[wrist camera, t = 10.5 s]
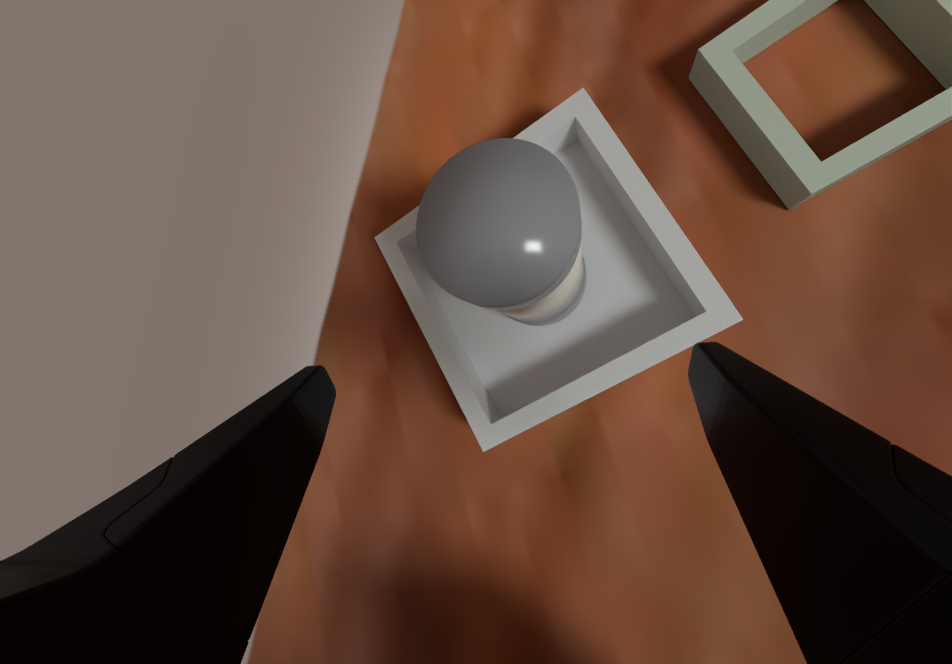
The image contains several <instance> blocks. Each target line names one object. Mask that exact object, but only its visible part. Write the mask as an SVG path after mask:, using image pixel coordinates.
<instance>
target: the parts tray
mask: <svg viewBox="0 0 952 664" xmlns="http://www.w3.org/2000/svg"><path fill="white" fill-rule="evenodd" d="M514 139H522V140H525V141H529V142H532V143H534V144H537V145H539V146H541V147H543V148H545V149H546V150H548V151H549V152H551V153H552V154H553V155H554V156H556V157H557V158H558V159H559V160H560V161H561V163H562V164H563V165H564V166H565V167H566V169H567V170H568V172H569V173H570V175H571V177H572V179H573V181H574V183H575V186H576V189H577V192H578V196H579V202H580V211H581V222H582V237H581V251H582V255H583V258H584V262H585V267H586V288H585V291H584V295H583V297H582V299H581V301H580V303H579V304H578V306H577V307H576V308H575V310H574V311H573V312H572V313H571V314H570V315H568V316H567V317H566V318H564V319H562V320H561V321H559V322H556V323H554V324H551V325H546V326H530V325H526V324H523V323H520V322H517V321H515V320H513V319H511V318H509V317H508V316H506V315H505V314H503V313H501V312H499V311H496V310H490V309H486V308H482V307H479V306H476V305H474V304H471V303H468V302H466V301H463V300H461V299H459V298H456V297H455V296H453V295H451V294H450V293H448V292H447V291H445V290H444V289H443V288H442V287H440V286H439V285H438V284H437V283H436V281H435V280H434V279H433V278H432V277H431V275H430V274H429V272H428V271H427V269H426V267H425V265H424V264H423V261H422V259H421V256H420V253H419V249H418V245H417V237H416V221H417V214H418V210H419V206H420V205H419V206H418V207H416V208H415V209H413V210H412V211H411V212H409V213H408V214H406V215H405V216H404V217H402V218H401V219H400V220H398V221H397V222H395V223H394V224H393V225H391V226H390V227H388V228H387V229H386V230H384V231H383V232H381V233H380V234H379V235H377V236H376V237H374V238H375V240H376V242H377V244H378V246H379V248H380V250H381V252H382V254H383V256H384V258H385V260H386V261H387V263H388V265H389V267H390V269H391V271H392V273H393V275H394V277H395V279H396V281H397V283H398V285H399V287H400V289H401V291H402V293H403V295H404V297H405V299H406V301H407V303H408V305H409V307H410V309H411V311H412V313H413V315H414V316H415V318H416V320H417V322H418V324H419V326H420V328H421V330H422V332H423V334H424V336H425V338H426V340H427V342H428V344H429V346H430V348H431V350H432V352H433V354H434V356H435V358H436V360H437V362H438V364H439V366H440V368H441V370H442V371H443V373H444V375H445V377H446V379H447V381H448V383H449V385H450V387H451V389H452V391H453V393H454V395H455V397H456V399H457V401H458V403H459V405H460V407H461V409H462V411H463V413H464V415H465V417H466V419H467V421H468V423H469V425H470V426H471V428H472V430H473V432H474V434H475V436H476V438H477V440H478V442H479V444H480V446H481V448H482V450H483V452H484V451H486V450H488V449H490V448H492V447H494V446H496V445H498V444H500V443H502V442H504V441H506V440H508V439H509V438H511V437H513V436H515V435H517V434H519V433H521V432H523V431H525V430H527V429H529V428H531V427H533V426H535V425H537V424H539V423H541V422H543V421H545V420H547V419H549V418H551V417H553V416H555V415H557V414H559V413H561V412H563V411H565V410H567V409H568V408H570V407H572V406H574V405H576V404H578V403H580V402H582V401H584V400H586V399H588V398H590V397H592V396H594V395H596V394H598V393H600V392H602V391H604V390H606V389H608V388H610V387H612V386H614V385H616V384H618V383H620V382H622V381H624V380H626V379H628V378H629V377H631V376H633V375H635V374H637V373H639V372H641V371H643V370H645V369H647V368H649V367H651V366H653V365H655V364H657V363H659V362H661V361H663V360H665V359H667V358H669V357H671V356H673V355H675V354H677V353H679V352H681V351H683V350H685V349H687V348H689V347H690V346H692V345H694V344H696V343H698V342H700V341H702V340H704V339H706V338H708V337H710V336H712V335H714V334H716V333H718V332H720V331H722V330H724V329H726V328H728V327H730V326H732V325H734V324H736V323H738V322H740V321H742V320H743V318H742V317H741V315H740V314H739V313H738V311H737V310H736V308H735V307H734V305H733V304H732V302H731V301H730V299H729V298H728V297H727V295H726V294H725V292H724V291H723V289H722V288H721V286H720V285H719V284H718V282H717V281H716V279H715V278H714V276H713V275H712V273H711V272H710V271H709V269H708V268H707V266H706V265H705V263H704V262H703V260H702V259H701V257H700V256H699V255H698V253H697V252H696V250H695V249H694V247H693V246H692V244H691V243H690V242H689V240H688V239H687V237H686V236H685V234H684V233H683V231H682V230H681V229H680V227H679V226H678V224H677V223H676V221H675V220H674V218H673V217H672V215H671V214H670V213H669V211H668V210H667V208H666V207H665V205H664V204H663V202H662V201H661V200H660V198H659V197H658V195H657V194H656V192H655V191H654V189H653V188H652V187H651V185H650V184H649V182H648V181H647V179H646V178H645V176H644V175H643V174H642V172H641V171H640V169H639V168H638V166H637V165H636V163H635V162H634V160H633V159H632V158H631V156H630V155H629V153H628V152H627V150H626V149H625V147H624V146H623V145H622V143H621V142H620V140H619V139H618V137H617V136H616V134H615V133H614V132H613V130H612V129H611V127H610V126H609V124H608V123H607V121H606V120H605V118H604V117H603V116H602V114H601V113H600V111H599V110H598V108H597V107H596V105H595V104H594V103H593V101H592V100H591V98H590V97H589V95H588V94H587V92H586V91H585V90H584V88H582V89H581V90H579V91H578V92H577V93H575V94H574V95H572V96H571V97H570V98H568V99H567V100H565V101H564V102H563V103H561V104H560V105H558V106H557V107H556V108H554V109H553V110H551V111H550V112H549V113H547V114H546V115H544V116H543V117H542V118H540V119H539V120H537V121H536V122H535V123H533V124H532V125H531V126H529V127H528V128H526V129H525V130H524V131H522V132H521V133H519V134H518V135H517V136H515V137H514Z"/></svg>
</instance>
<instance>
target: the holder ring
mask: <svg viewBox="0 0 952 664" xmlns="http://www.w3.org/2000/svg"><path fill="white" fill-rule="evenodd" d="M837 1H838V0H769V1H767V2H766V3H765V4H763V5H762V6H760V7H759V8H757V9H756V10H754V11H753V12H752V13H750V14H749V15H747V16H746V17H744V18H743V19H741V20H740V21H739V22H737V23H736V24H734V25H733V26H731V27H730V28H728V29H727V30H725V31H724V32H723V33H721V34H720V35H718V36H717V37H715V38H714V39H712V40H711V41H710V42H708V43H707V44H705V45H704V46H702V47H701V48H699V49H698V51H697V54H696V57H695V60H694V63H693V66H692V69H691V71H690V74H689V77H688V79H689V80H690V81H691V82H692V84H693V85H694V86H695V88H696V89H697V90H698V92H699V93H700V94H701V96H702V97H703V98H704V100H705V101H706V102H707V103H708V105H709V106H710V107H711V109H712V110H713V111H714V113H715V114H716V115H717V117H718V118H719V119H720V121H721V122H722V123H723V124H724V126H725V127H726V128H727V130H728V131H729V132H730V134H731V135H732V136H733V138H734V139H735V140H736V142H737V143H738V144H739V145H740V147H741V148H742V149H743V151H744V152H745V153H746V155H747V156H748V157H749V159H750V160H751V161H752V163H753V164H754V165H755V166H756V168H757V169H758V170H759V172H760V173H761V174H762V176H763V177H764V178H765V180H766V181H767V182H768V184H769V185H770V186H771V187H772V189H773V190H774V191H775V193H776V194H777V195H778V197H779V198H780V199H781V201H782V202H783V203H784V205H785V206H786V207H787V208H788V210H791V209H792V208H794V207H796V206H798V205H800V204H801V203H803V202H805V201H807V200H809V199H810V198H812V197H814V196H816V195H817V194H819V193H821V192H823V191H825V190H826V189H828V188H830V187H832V186H834V185H835V184H837V183H839V182H841V181H843V180H844V179H846V178H848V177H850V176H851V175H853V174H855V173H857V172H859V171H860V170H862V169H864V168H866V167H868V166H869V165H871V164H873V163H875V162H877V161H878V160H880V159H882V158H884V157H885V156H887V155H889V154H891V153H893V152H894V151H896V150H898V149H900V148H902V147H903V146H905V145H907V144H909V143H911V142H912V141H914V140H916V139H918V138H919V137H921V136H923V135H925V134H927V133H928V132H930V131H932V130H934V129H936V128H937V127H939V126H941V125H943V124H945V123H946V122H948V121H950V120H952V0H864V1H865V2H866V3H867V4H868V5H869V6H870V8H871V9H872V10H873V11H874V12H875V13H876V14H877V15H878V16H879V17H880V18H881V19H882V21H883V22H884V23H885V24H886V25H887V26H888V27H889V28H890V29H891V30H892V31H893V33H894V34H895V35H896V36H897V37H898V38H899V39H900V40H901V41H902V42H903V43H904V44H905V46H906V47H907V48H908V49H909V50H910V51H911V52H912V53H913V54H914V55H915V56H916V58H917V59H918V60H919V61H920V62H921V63H922V64H923V65H924V66H925V67H926V68H927V69H928V71H929V72H930V73H931V74H932V75H933V76H934V77H935V78H936V79H937V80H938V81H939V83H940V84H941V85H942V86H943V87H944V88H945V89H946V90H945V91H943V92H942V93H940V94H938V95H936V96H935V97H933V98H931V99H930V100H928V101H926V102H924V103H923V104H921V105H919V106H917V107H916V108H914V109H912V110H910V111H909V112H907V113H905V114H903V115H902V116H900V117H898V118H897V119H895V120H893V121H891V122H890V123H888V124H886V125H884V126H883V127H881V128H879V129H877V130H876V131H874V132H872V133H871V134H869V135H867V136H865V137H864V138H862V139H860V140H858V141H857V142H855V143H853V144H851V145H850V146H848V147H846V148H844V149H843V150H841V151H839V152H838V153H836V154H834V155H832V156H831V157H829V158H827V159H825V160H824V161H822V162H821V161H820V160H819V158H818V157H817V156H816V155H815V153H814V152H813V151H812V150H811V148H810V147H809V146H808V145H807V144H806V142H805V141H804V140H803V139H802V137H801V136H800V135H799V134H798V132H797V131H796V130H795V129H794V127H793V126H792V125H791V124H790V122H789V121H788V120H787V119H786V117H785V116H784V115H783V114H782V112H781V111H780V110H779V109H778V107H777V106H776V105H775V104H774V102H773V101H772V100H771V99H770V97H769V96H768V95H767V94H766V93H765V91H764V90H763V89H762V88H761V86H760V85H759V84H758V83H757V81H756V80H755V79H754V78H753V76H752V75H751V74H750V73H749V71H748V70H747V69H746V68H745V66H744V65H743V63H745V62H746V61H748V60H749V59H751V58H752V57H754V56H755V55H757V54H758V53H760V52H761V51H763V50H764V49H766V48H767V47H769V46H770V45H772V44H773V43H775V42H776V41H778V40H779V39H781V38H782V37H784V36H785V35H787V34H788V33H790V32H791V31H793V30H794V29H796V28H797V27H799V26H800V25H802V24H803V23H805V22H806V21H808V20H809V19H811V18H813V17H814V16H816V15H817V14H819V13H820V12H822V11H823V10H825V9H826V8H828V7H829V6H831V5H832V4H834V3H835V2H837Z"/></svg>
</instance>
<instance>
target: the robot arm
mask: <svg viewBox="0 0 952 664" xmlns="http://www.w3.org/2000/svg"><path fill="white" fill-rule="evenodd" d="M688 378H689V382H690V386H691V389H692V392H693V396H694V399H695V402H696V405H697V409H698V412H699V415H700V418H701V422H702V425H703V428H704V431H705V434H706V437H707V440H708V443H709V445H710V448H711V450H712V452H713V454H714V457H715V459H716V461H717V463H718V466H719V468H720V470H721V472H722V475H723V477H724V479H725V481H726V483H727V486H728V488H729V490H730V492H731V495H732V497H733V499H734V501H735V504H736V506H737V508H738V510H739V513H740V515H741V517H742V519H743V521H744V524H745V526H746V528H747V530H748V533H749V535H750V537H751V539H752V542H753V544H754V546H755V548H756V550H757V553H758V555H759V557H760V559H761V562H762V564H763V566H764V568H765V571H766V573H767V575H768V577H769V580H770V582H771V584H772V586H773V588H774V591H775V593H776V595H777V597H778V600H779V602H780V604H781V606H782V609H783V611H784V613H785V615H786V617H787V620H788V622H789V624H790V626H791V629H792V631H793V633H794V635H795V638H796V640H797V642H798V644H799V647H800V649H801V651H802V653H803V655H804V658H805V660H806V662H807V664H952V476H950V475H949V474H947V473H945V472H943V471H941V470H940V469H938V468H936V467H934V466H932V465H931V464H929V463H927V462H925V461H923V460H922V459H920V458H918V457H916V456H915V455H913V454H911V453H909V452H908V451H906V450H904V449H902V448H901V447H899V446H897V445H891V442H890V441H888V440H886V439H885V438H883V437H881V436H880V435H878V434H876V433H874V432H873V431H871V430H869V429H867V428H866V427H864V426H862V425H860V424H859V423H857V422H855V421H853V420H852V419H850V418H848V417H847V416H845V415H843V414H841V413H840V412H838V411H836V410H834V409H833V408H831V407H829V406H827V405H826V404H824V403H822V402H820V401H819V400H817V399H815V398H813V397H812V396H810V395H808V394H807V393H805V392H803V391H801V390H800V389H798V388H796V387H794V386H793V385H791V384H789V383H787V382H786V381H784V380H782V379H780V378H779V377H777V376H775V375H774V374H772V373H770V372H768V371H767V370H765V369H763V368H761V367H760V366H758V365H756V364H754V363H753V362H751V361H749V360H747V359H746V358H744V357H742V356H740V355H739V354H737V353H735V352H734V351H732V350H730V349H728V348H727V347H725V346H723V345H721V344H720V343H718V342H698V343H696V344H695V345H694V347H693V350H692V355H691V360H690V364H689V369H688ZM335 397H336V390H335V387H334V385H333V383H332V381H331V379H330V377H329V375H328V373H327V371H326V369H325V368H324V367H323V366H321V365H317V366H307V367H305V368H303V369H302V370H301V371H299V372H297V373H296V374H294V375H293V376H292V377H290V378H288V379H287V380H286V381H284V382H283V383H281V384H280V385H278V386H277V387H275V388H274V389H272V390H271V391H269V392H268V393H266V394H265V395H264V396H262V397H260V398H259V399H257V400H256V401H254V402H253V403H251V404H250V405H248V406H247V407H245V408H244V409H243V410H241V411H239V412H238V413H237V414H235V415H234V416H232V417H231V418H229V419H228V420H226V421H225V422H223V423H222V424H220V425H219V426H217V427H216V428H214V429H213V430H211V431H210V432H208V433H207V434H205V435H204V436H202V437H201V438H199V439H198V440H196V441H195V442H193V443H192V444H191V445H189V446H188V447H186V448H185V449H183V450H182V451H180V452H179V453H177V454H176V455H175V456H174V458H173V457H172V458H170V459H168V460H167V461H165V462H164V463H162V464H161V465H159V466H158V467H156V468H155V469H153V470H152V471H150V472H149V473H147V474H146V475H144V476H143V477H141V478H140V479H138V480H137V481H135V482H133V483H132V484H131V485H129V486H128V487H126V488H124V489H123V490H121V491H119V492H118V493H116V494H114V495H113V496H111V497H110V498H108V499H107V500H105V501H103V502H101V503H100V504H98V505H97V506H95V507H93V508H92V509H90V510H89V511H87V512H85V513H84V514H82V515H80V516H79V517H77V518H75V519H74V520H72V521H70V522H69V523H67V524H66V525H64V526H62V527H61V528H59V529H57V530H56V531H54V532H52V533H51V534H49V535H47V536H46V537H44V538H43V539H41V540H39V541H38V542H36V543H34V544H33V545H31V546H29V547H27V548H26V549H24V550H23V551H20V552H19V553H17V554H15V555H12V556H10V557H8V558H6V559H4V560H2V561H0V664H241V661H242V658H243V656H244V653H245V650H246V648H247V645H248V640H249V639H250V637H251V634H252V631H253V629H254V626H255V623H256V621H257V618H258V616H259V613H260V610H261V608H262V605H263V602H264V600H265V597H266V594H267V592H268V589H269V587H270V584H271V581H272V579H273V576H274V573H275V571H276V568H277V566H278V563H279V560H280V558H281V555H282V552H283V550H284V547H285V544H286V542H287V539H288V537H289V534H290V531H291V529H292V526H293V523H294V521H295V518H296V515H297V513H298V510H299V508H300V505H301V502H302V500H303V497H304V494H305V492H306V489H307V487H308V484H309V481H310V479H311V476H312V473H313V471H314V468H315V465H316V463H317V460H318V458H319V455H320V452H321V449H322V446H323V442H324V439H325V435H326V431H327V428H328V424H329V420H330V416H331V412H332V409H333V405H334V401H335Z"/></svg>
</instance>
